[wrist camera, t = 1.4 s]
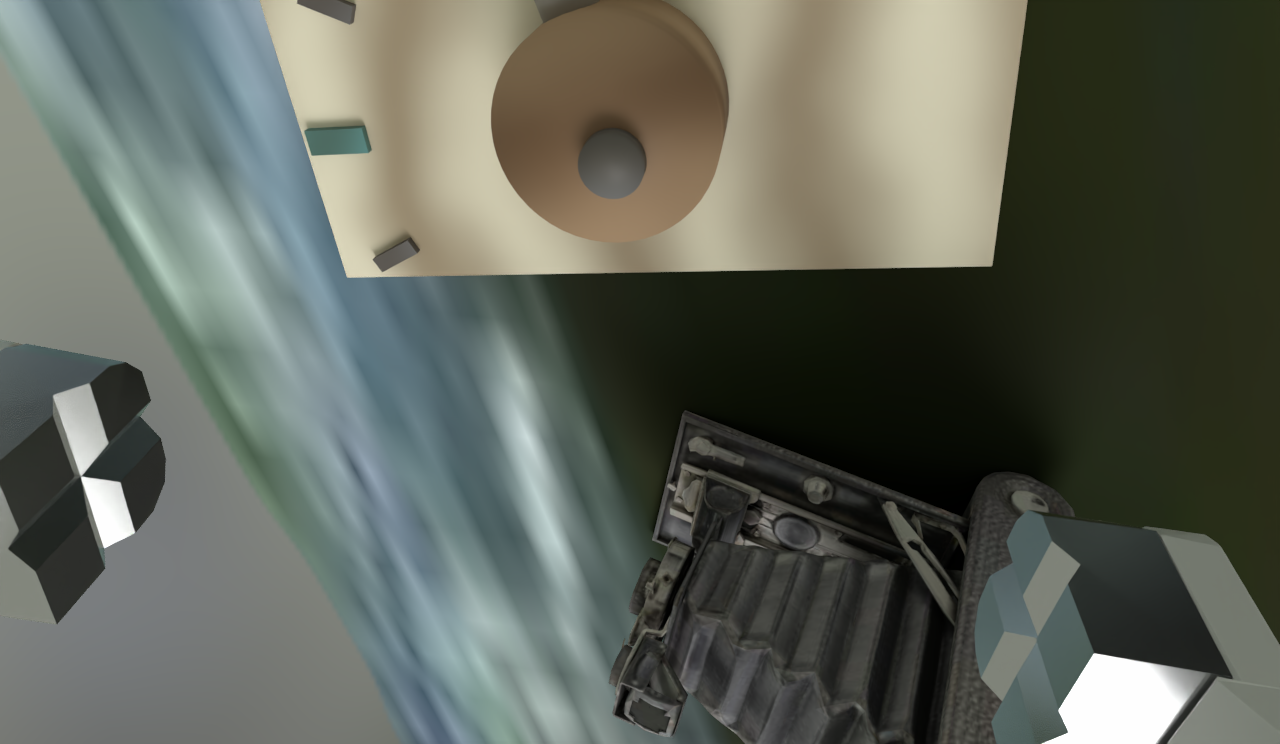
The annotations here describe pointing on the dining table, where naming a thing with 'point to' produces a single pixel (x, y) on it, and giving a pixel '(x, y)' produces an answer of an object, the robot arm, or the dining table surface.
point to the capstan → (611, 117)
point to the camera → (814, 599)
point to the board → (751, 152)
